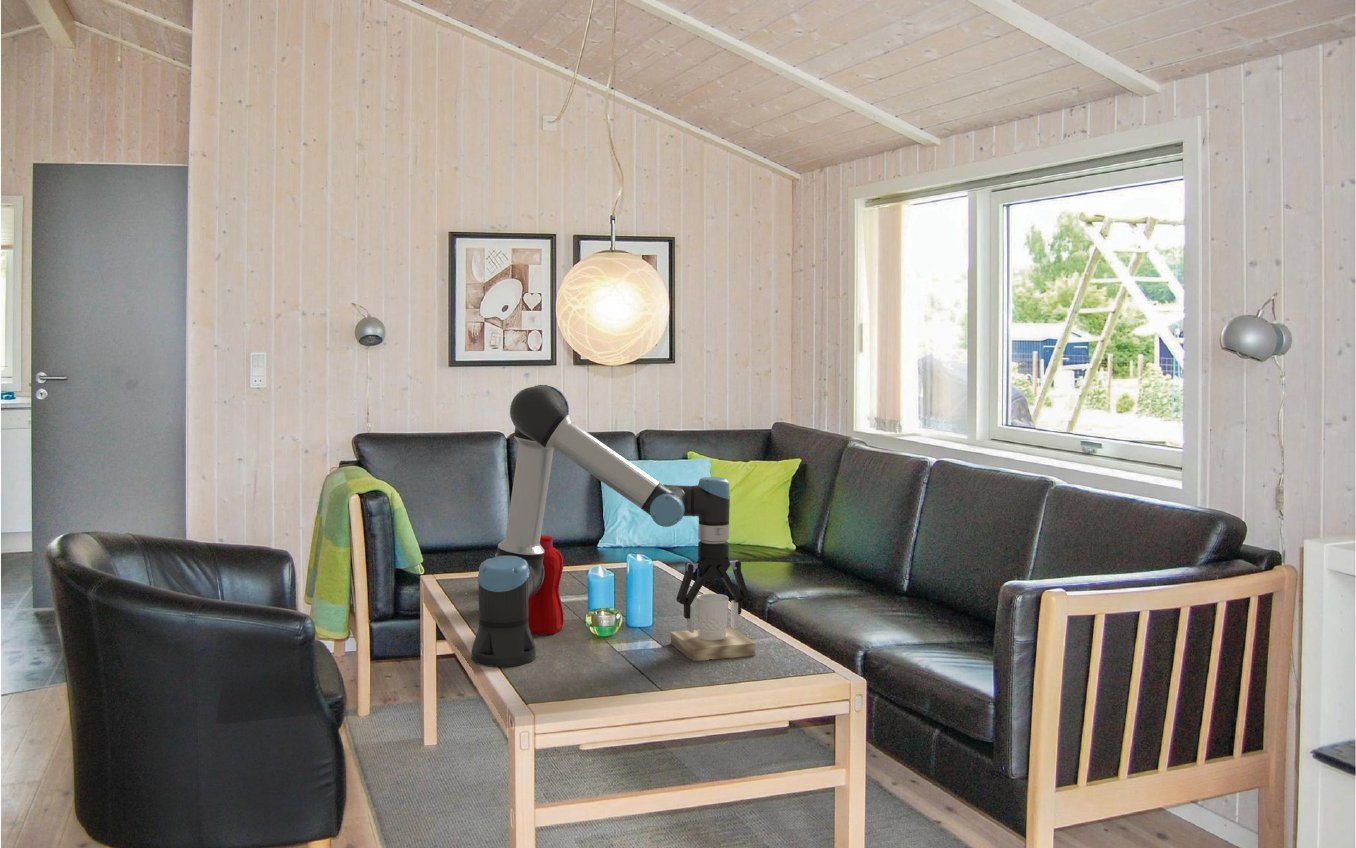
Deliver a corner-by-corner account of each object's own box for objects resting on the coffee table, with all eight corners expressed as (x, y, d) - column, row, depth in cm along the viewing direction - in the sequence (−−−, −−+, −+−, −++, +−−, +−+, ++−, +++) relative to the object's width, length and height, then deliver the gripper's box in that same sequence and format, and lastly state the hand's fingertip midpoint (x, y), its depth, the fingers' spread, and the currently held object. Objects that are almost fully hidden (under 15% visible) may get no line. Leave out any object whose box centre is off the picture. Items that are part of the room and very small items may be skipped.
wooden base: (693, 661, 263) (693, 648, 263) (670, 643, 278) (670, 631, 278) (755, 655, 268) (755, 643, 268) (730, 638, 283) (730, 626, 283)
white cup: (715, 643, 267) (716, 602, 267) (689, 638, 272) (689, 597, 271) (734, 636, 274) (734, 596, 273) (708, 631, 278) (708, 592, 278)
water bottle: (569, 626, 294) (569, 532, 292) (553, 637, 283) (554, 539, 281) (537, 623, 296) (537, 530, 294) (520, 634, 285) (520, 537, 284)
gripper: (673, 546, 264) (672, 637, 265) (763, 541, 271) (762, 629, 273) (663, 540, 271) (662, 629, 272) (751, 535, 278) (750, 622, 280)
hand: (712, 629), depth 273 cm, fingers open, 11 cm apart
